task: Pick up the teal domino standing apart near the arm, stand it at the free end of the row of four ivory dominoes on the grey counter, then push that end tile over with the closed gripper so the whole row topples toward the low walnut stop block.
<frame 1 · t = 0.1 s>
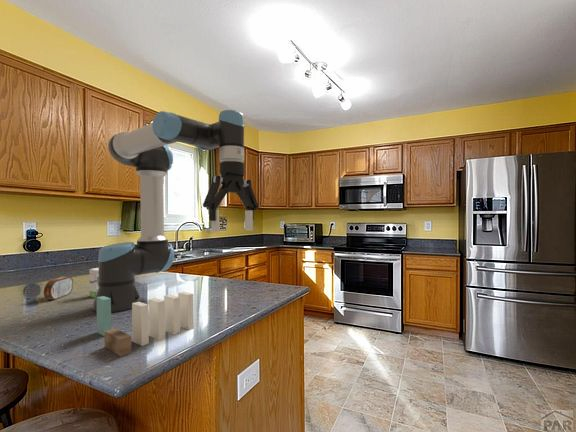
hand: (233, 231, 92), 28 cm above the counter, tool pointing down, fingers open, 13 cm apart
teal domino: (104, 333, 85), on the counter
ivory domino 2: (172, 331, 85), on the counter
ivory domino 1: (186, 327, 88), on the counter
ivory domino 3: (157, 336, 81), on the counter
ink box: (102, 295, 129), on the counter
ivory domino 4: (140, 342, 78), on the counter
walnut stop block: (117, 349, 73), on the counter
tin: (59, 297, 127), on the counter
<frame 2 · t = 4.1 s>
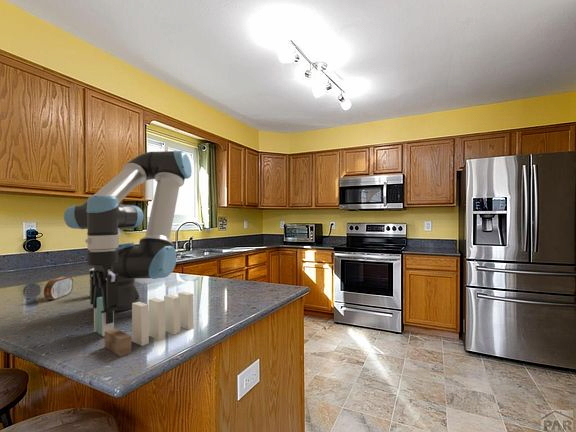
hand: (103, 332, 85), 0 cm above the counter, tool pointing down, fingers closed on teal domino, 5 cm apart
teal domino: (104, 333, 85), on the counter, touching gripper
everything else where it was.
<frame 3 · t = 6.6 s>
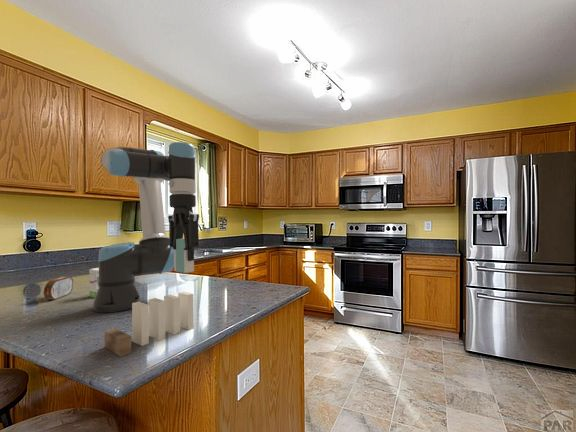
hand: (184, 270, 90), 16 cm above the counter, tool pointing down, fingers closed on teal domino, 5 cm apart
teal domino: (183, 271, 90), point 16 cm above the counter, touching gripper
everything else where it was.
when the fingers open (1 cm above the counter, at t = 9.1 s): teal domino stays where it is, on the counter.
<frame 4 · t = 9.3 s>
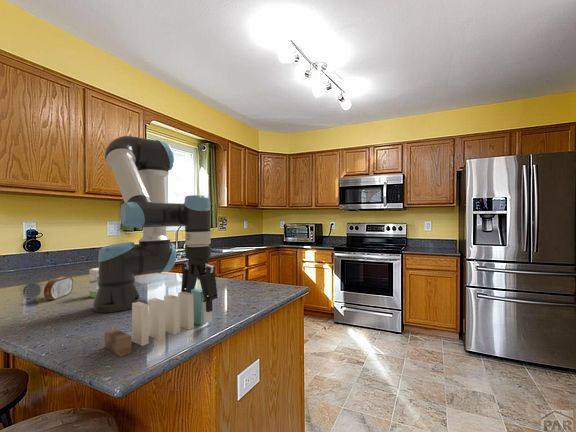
hand: (198, 319, 92), 1 cm above the counter, tool pointing down, fingers open, 8 cm apart
teal domino: (198, 322, 92), on the counter
everything else where it was.
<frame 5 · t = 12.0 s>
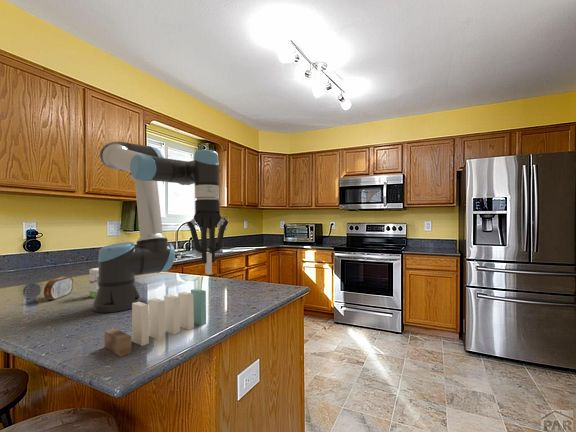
hand: (208, 273, 95), 15 cm above the counter, tool pointing down, fingers closed
nothing on the counter moved.
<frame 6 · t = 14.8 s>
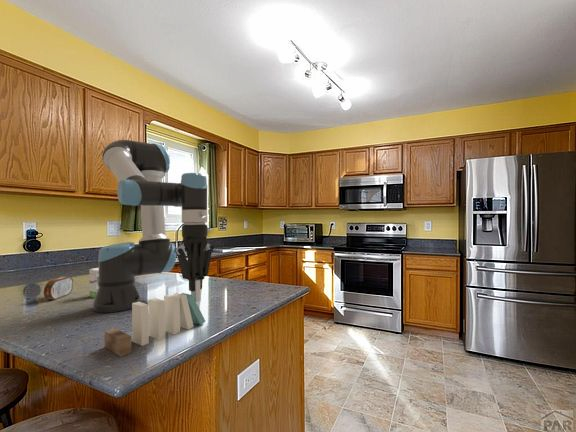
hand: (195, 301, 91), 7 cm above the counter, tool pointing down, fingers closed
teal domino: (198, 321, 92), on the counter, tilted 27°
ivory domino 1: (186, 326, 88), on the counter, tilted 13°
everything else where it was.
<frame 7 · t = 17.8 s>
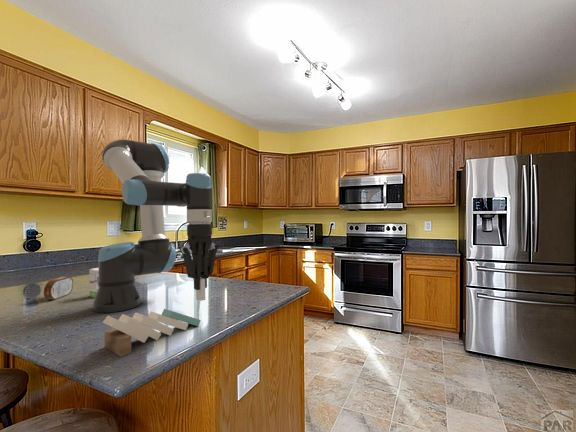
hand: (200, 299, 93), 7 cm above the counter, tool pointing down, fingers closed
teal domino: (194, 321, 91), point 1 cm above the counter, tilted 61°, touching ivory domino 1
ivory domino 2: (167, 330, 84), point 1 cm above the counter, tilted 54°, touching ivory domino 1, ivory domino 3
ivory domino 1: (182, 325, 88), point 1 cm above the counter, tilted 60°, touching ivory domino 2, teal domino
ivory domino 3: (154, 334, 81), point 1 cm above the counter, tilted 50°, touching ivory domino 2, ivory domino 4
ivory domino 4: (141, 337, 78), point 1 cm above the counter, tilted 50°, touching ivory domino 3, walnut stop block
everything else where it was.
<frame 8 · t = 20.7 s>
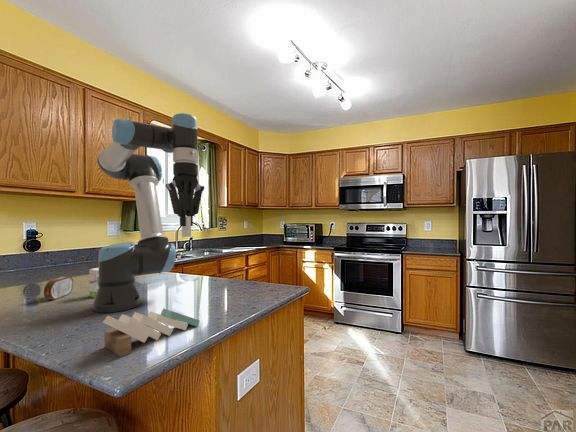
hand: (186, 236, 96), 26 cm above the counter, tool pointing down, fingers closed
nothing on the counter moved.
at the end: ivory domino 4 tilted 50°; teal domino tilted 61°; the gripper is holding nothing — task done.
